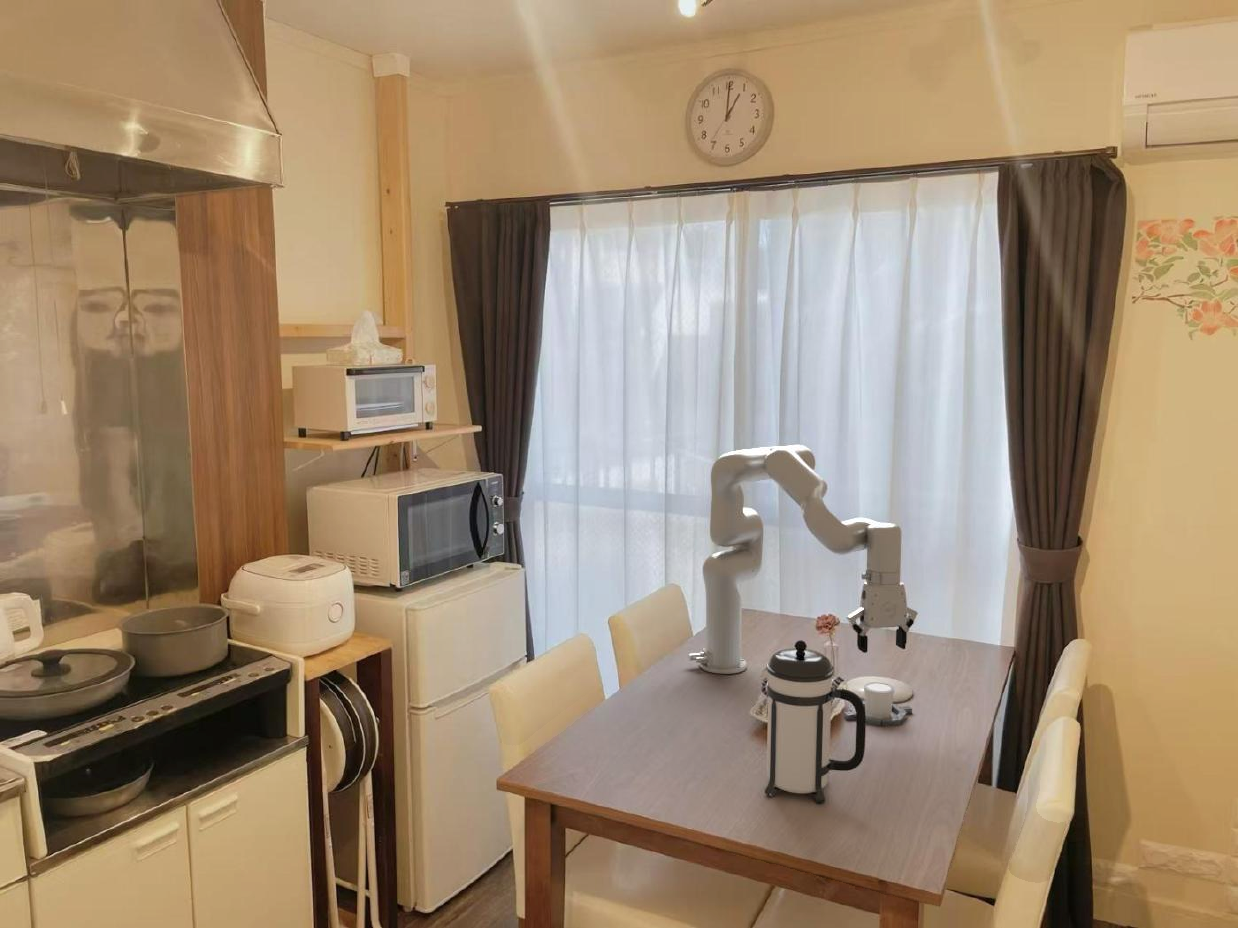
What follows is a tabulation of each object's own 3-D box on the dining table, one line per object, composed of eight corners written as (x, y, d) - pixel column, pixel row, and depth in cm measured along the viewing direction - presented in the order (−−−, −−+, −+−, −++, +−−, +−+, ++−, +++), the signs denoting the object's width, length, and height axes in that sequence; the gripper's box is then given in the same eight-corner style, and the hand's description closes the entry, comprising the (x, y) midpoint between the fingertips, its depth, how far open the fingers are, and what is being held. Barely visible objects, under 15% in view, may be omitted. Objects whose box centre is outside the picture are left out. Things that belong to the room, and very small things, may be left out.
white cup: (898, 715, 219) (899, 686, 218) (884, 723, 214) (885, 694, 213) (871, 707, 224) (872, 679, 223) (857, 715, 219) (858, 687, 218)
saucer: (865, 705, 225) (865, 702, 224) (835, 682, 240) (835, 679, 240) (925, 699, 228) (925, 696, 228) (891, 676, 244) (891, 673, 244)
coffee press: (789, 815, 173) (793, 659, 169) (744, 778, 187) (747, 634, 183) (865, 797, 180) (871, 646, 176) (816, 763, 194) (820, 623, 190)
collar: (858, 728, 211) (858, 723, 211) (833, 708, 223) (834, 704, 223) (923, 721, 215) (924, 716, 215) (896, 702, 227) (896, 697, 226)
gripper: (856, 583, 209) (855, 657, 211) (926, 578, 213) (924, 650, 215) (841, 575, 216) (840, 647, 218) (908, 570, 220) (906, 641, 222)
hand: (881, 649), depth 216 cm, fingers open, 9 cm apart
